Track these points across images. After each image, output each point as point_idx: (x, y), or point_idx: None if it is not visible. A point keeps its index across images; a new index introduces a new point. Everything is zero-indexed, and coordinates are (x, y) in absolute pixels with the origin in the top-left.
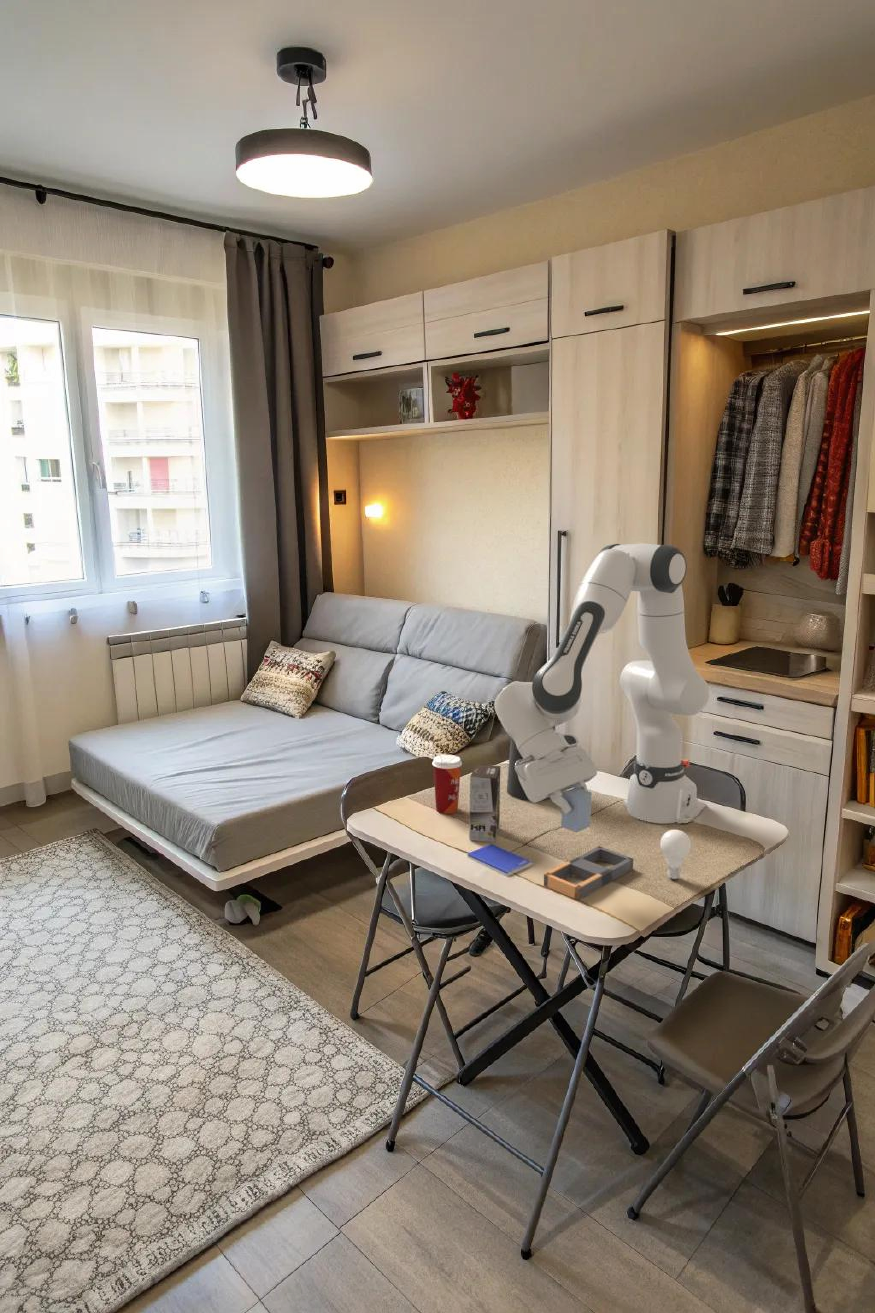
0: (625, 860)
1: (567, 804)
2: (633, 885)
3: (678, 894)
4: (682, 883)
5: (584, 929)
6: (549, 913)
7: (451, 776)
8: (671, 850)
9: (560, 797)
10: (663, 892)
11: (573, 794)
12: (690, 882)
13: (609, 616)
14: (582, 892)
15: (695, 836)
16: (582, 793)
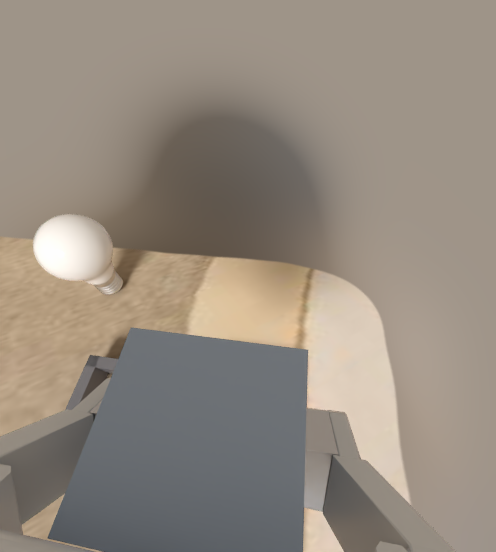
0: (105, 365)
1: (350, 442)
2: (173, 330)
3: (168, 262)
4: (126, 271)
5: (380, 326)
6: (391, 414)
7: None
8: (109, 243)
9: (424, 531)
10: (173, 281)
11: (262, 435)
12: (116, 264)
13: None
14: None
15: None
16: (188, 376)
